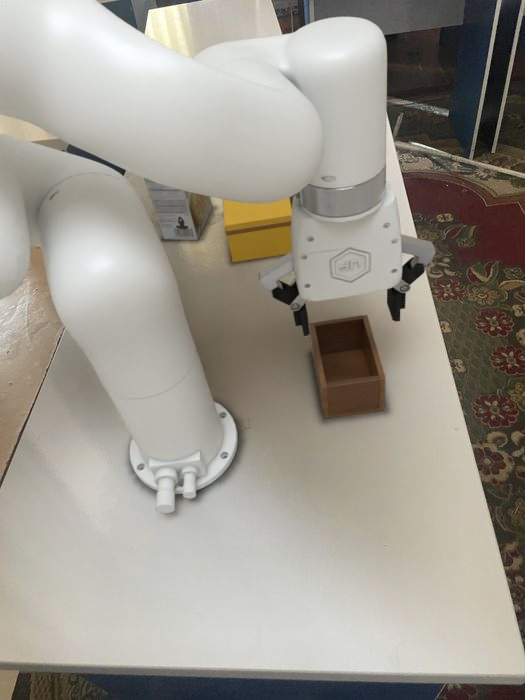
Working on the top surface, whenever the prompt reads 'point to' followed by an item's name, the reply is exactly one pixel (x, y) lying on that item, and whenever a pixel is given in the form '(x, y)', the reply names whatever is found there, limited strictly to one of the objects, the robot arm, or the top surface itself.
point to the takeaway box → (258, 229)
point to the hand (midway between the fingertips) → (349, 319)
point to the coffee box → (179, 211)
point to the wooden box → (347, 367)
